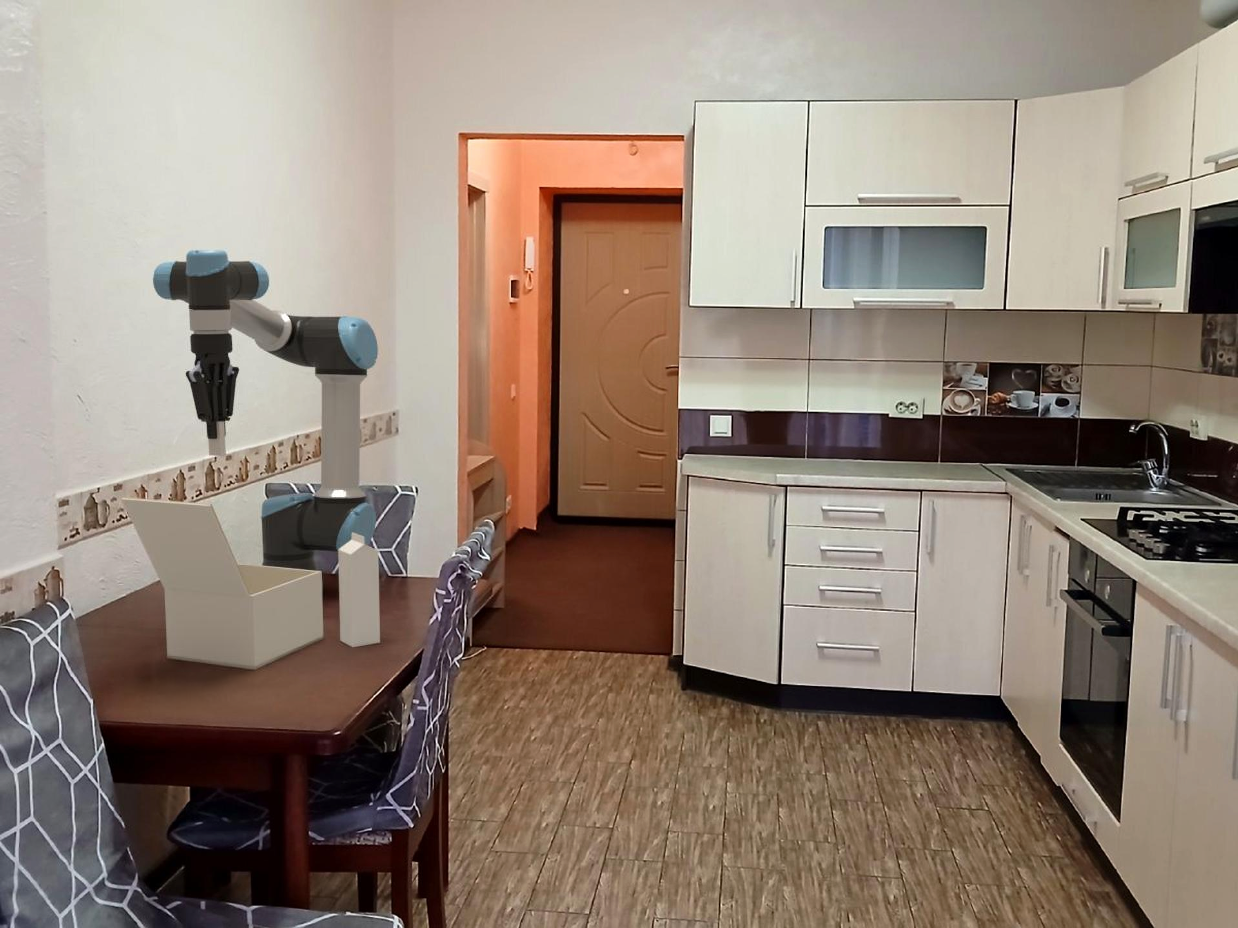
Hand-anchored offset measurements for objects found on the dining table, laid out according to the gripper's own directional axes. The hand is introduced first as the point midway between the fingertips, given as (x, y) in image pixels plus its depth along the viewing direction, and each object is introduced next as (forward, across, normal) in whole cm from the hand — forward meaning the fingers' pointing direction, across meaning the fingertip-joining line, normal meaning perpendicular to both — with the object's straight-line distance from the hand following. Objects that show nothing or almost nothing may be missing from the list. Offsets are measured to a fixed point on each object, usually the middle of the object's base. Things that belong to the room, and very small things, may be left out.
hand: (217, 454), depth 225 cm
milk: (+39, -12, +23) cm, 47 cm away
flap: (+14, +16, +5) cm, 22 cm away
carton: (+38, 0, +5) cm, 39 cm away
